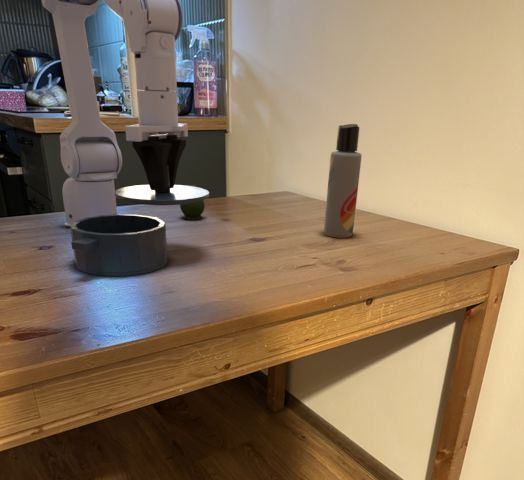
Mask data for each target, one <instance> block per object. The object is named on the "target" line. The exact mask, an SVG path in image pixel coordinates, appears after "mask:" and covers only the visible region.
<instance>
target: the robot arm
mask: <svg viewBox="0 0 524 480" xmlns="http://www.w3.org/2000/svg"><path fill="white" fill-rule="evenodd" d="M103 1H104V3H105V5H106V6H107V8H108V9H109V10H111V12H113V13H114V14H115V15H116V16H118V17H119V18H120V19H121V20H122V22H123V26H124V29H125V32H126V34H127V37H128V46H129V49H130V52H131V53H133V57H134V72H135V73H134V74H135V86H136V87H135V88H136V100H137V113H138V114H137V115H138V123H136V124H131V125H124V128H125V129H124V130H125V140H126V142H131V143H132V144H131V145H132V148H133V149H134V152H135V153H136V155H137V156H138V158H139V161H140V162H141V164H142V167H143V170H144V172H145V175H146V176H145V177H146V179H147V182H148V185H149V186H150V189H151V190H156V191H164V189H165V183H166V164H168V165H169V174H170V188H174V185H176V184H175V183H176V179H177V173H178V168H179V164H180V161H181V158H182V154H183V153H184V151H185V148H186V147H187V140H186V139H185V138H187V137H189V131H188V130H189V127H188V123H182V122H179V112H178V111H179V110H178V109H179V108H178V92H177V91H178V88H177V87H178V86H177V85H178V84H177V81H178V80H177V61H176V57H177V56H176V41H177V40H178V39H179V38H180V36H181V33H182V31H183V24H184V23H183V22H184V15H183V13H184V12H183V7H182V5H181V4H182V3H181V2H180V0H103ZM101 2H102V0H41V4H42V7H43V8H44V9H46V10H47V11H48V12H49V13H50V14H51V16H52V20H53V25H54V26H53V27H54V31H55V36H56V41H57V46H58V51H59V57H60V63H61V68H62V74H63V78H64V84H65V90H66V95H67V100H68V105H69V110H70V111H69V112H70V117H71V121H72V122H71V123H70V124H68V126H66V127H65V129H63V131H61V133H60V135H59V144H60V163H61V166H62V168H63V170H64V172H65V174H66V175H68V176H69V177H68V178H66V180H65V181H64V182H63V185H62V191H61V192H62V201H63V208H64V215H65V222H64V223H63V226H64V227H68V228H70V225H71V224H72V223H73V222H75V221H77V220H80V219H84V218H87V217H94V216H101V215H116V214H118V211H117V209H118V208H117V197H115V191H116V188H115V187H116V186H115V179H116V180H117V179H118V175H119V174H120V172H121V169H122V167H123V156H122V155H123V154H122V152H121V149H120V147H119V144H118V141H117V136H116V133H115V132H114V131H113V129H111V128H110V127H108V126H107V125H106V124H105V123H103V121H102V120H101V115H100V109H99V103H98V96H97V91H96V85H95V79H94V78H95V77H94V74H93V73H94V72H93V67H92V61H91V55H90V50H89V44H88V37H87V31H86V26H85V25H86V24H85V21H86V19H87V18H89V17H91V16H93V15H95V14H96V12H97V10H98V8H99V6H100V4H101ZM159 133H161V134H159ZM181 137H182V138H181ZM184 137H185V138H184ZM78 140H79V141H78ZM80 140H86V141H80ZM87 140H89V141H87ZM90 140H91V141H90ZM95 140H96V141H95Z"/></svg>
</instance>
